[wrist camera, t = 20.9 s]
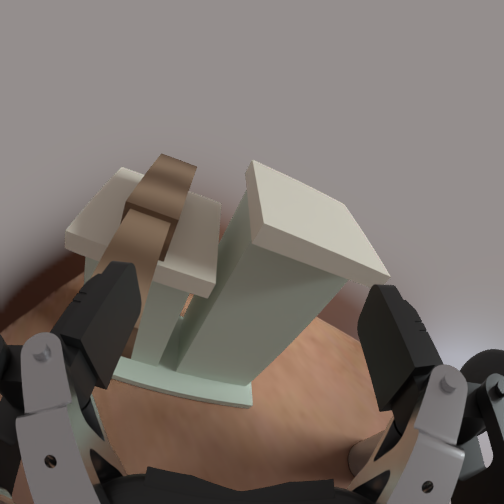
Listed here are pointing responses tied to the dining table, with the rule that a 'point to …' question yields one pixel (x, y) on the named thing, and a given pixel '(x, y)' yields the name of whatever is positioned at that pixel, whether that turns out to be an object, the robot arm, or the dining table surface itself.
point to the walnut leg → (149, 225)
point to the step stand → (231, 281)
